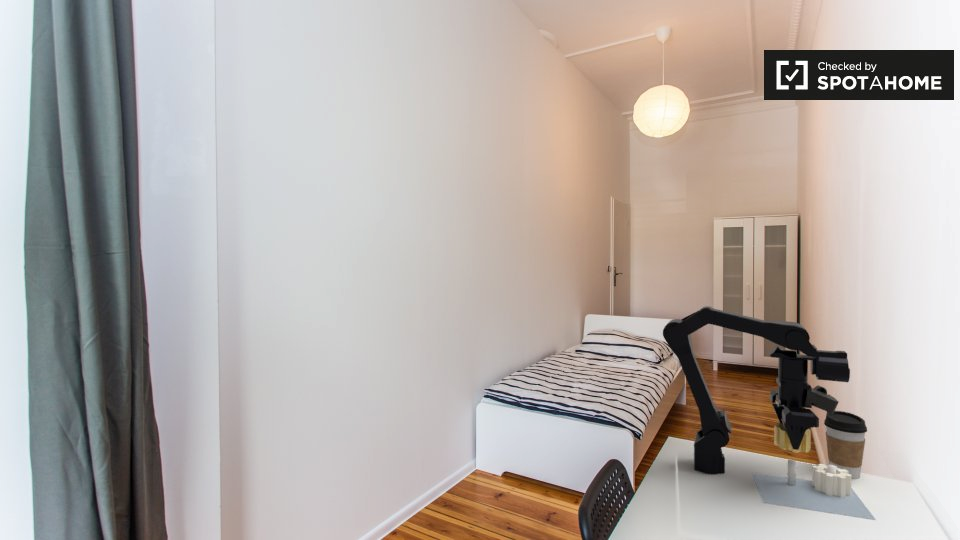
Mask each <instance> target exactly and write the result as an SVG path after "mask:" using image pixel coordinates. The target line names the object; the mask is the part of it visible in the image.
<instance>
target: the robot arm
mask: <svg viewBox="0 0 960 540" xmlns="http://www.w3.org/2000/svg"><path fill="white" fill-rule="evenodd" d="M707 325H712V326H717V327H721V328H725V329H728V330H733V331H736V332H741V333H745V334H749V335H753V336H756V337H757V336H758V337H760V338H763V339H765V340H768V341H770V342H772V343H774V344H776V346H775V348H773V349H772V350H770V351H769V352H768V354H769V356H770V357H771V358H778V376H777V377H776V378H775V379H776V384H777V386H778V387H777V389H776V388H775V389H772V390H771V391H769V401H770V403H771V406H772V408H773V411H774V413H775V416H776V418H777V420H778V423H781V424H783V425H784V427H785V430H786V432H787V435H788V438H789V440H790V443H791V445H792V448H793V449H795V450H798V449H799V447H800V445H801V442H802V439H803V436H804V434H805V431H806V430H807V429H810V428H820V418H819V417H818V416H817V415H816V413H815V412H814V411H813V410H812V409H813V407H815V408H817V409H820V410H822V411H824V412H825V413H826V414H827V413H830V414H833V413H834V411H836V410H837V406H838V404H839V401H838V399H836V398H835V397H834V396H832V395H831V394H828V391H827V388H825V387H823V386H821V385H816V386H814V387H812V386H811V385H810V383H808V378H809V377H808V376H809V375H808V374H809V373H808V370H810V371H809V372H810V375H812V376H815V378H816V380H819V381H830V382H837V383H838V382H839V383H849V381H850V377H851V369H850V367H849V360H848V353H847V352H846V351H845V350H819V349H818V348H817V347H816V346H815V344H812V343H811V342H810V334H809V332H808V330H806V328H805V327H804V326H803V325H802V324H800V323H798V322H796V321H787V320H785V321H784V320H768V319H767V320H765V319H759V318H756V317H751V316H747V315H742V314H737V313H734V312H730V311H726V310H721V309H718V308H714V307H712V306H707V305H706V306H702V308H700V309H698V310H697V311H695V312H692V313H691V314H689V315H687V316H684V317H683V318H681V319H680V318H676V319H675V318H674V319H671V320H669V321H668V322H667V324H666V325H665V326H664V328H663V329H662V336H663V339H664V341H665V342H666V343H667V346H668V347H669V348H670V350H671V351H672V352H673V353H674V355H675V356H676V357H677V359H678V361H679V364H680V366H681V370H682V371H683V374H684V377H685V379H686V381H687V385H688V388H689V389H690V391H691V394H692V396H693V397H692V398H693V399H694V401H695V405H696V406H697V408H698V413H699V418H700V419H699V420H700V426H701V429H699V430H698V431H697V432H696V433H695V437H694V443H693V469H694V471H698V472H699V473H702V474H705V475H713V476H714V475H718V474H719V475H724V474H725V472H726V470H725V469H726V463H725V462H726V458H725V457H726V456H725V454H724V453H723V449H722V448H725V447H726V446H727V445H728V444H729V442H730V435H731V434H732V423H731V422H730V420H729V418H728V417H727V412H726V409H721V410H720V409H719V408H718V407H717V405H716V404H715V402H714V400H713V397H712V394H711V392H710V389H709V387H708V385H707V382H706V380H705V378H704V376H703V373H702V372H703V371H702V369H701V368H700V366H699V362H698V361H697V357H696V355H695V353H694V348H693V340H692V334H693V333H695V332H697V331H699V330H700V329H702V328H703V327H705V326H707ZM780 346H781V347H783V348H785V349H781V347H780ZM797 351H798V352H799V351H800V352H801V353H802V354H800V353H797ZM809 361H810V362H809ZM808 362H809V363H808ZM809 365H810V366H809ZM808 367H810V369H809V368H808Z"/></svg>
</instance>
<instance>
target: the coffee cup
mask: <svg viewBox="0 0 960 540" xmlns="http://www.w3.org/2000/svg"><path fill="white" fill-rule="evenodd" d="M823 425H824V426H825V429H826V431H825V437H826V438H825V440H826V449H827V458H828V459H827V460H828V465H829V464H830V465H834V466H837V468H840V469H845V470H847V471H849V474H850V475H851V480H859V479H860V478H861V473H862V465H863V459H864V452H865V445H866V438H865V436H866V435H865V434H866V433H867V432H868V427H867V426H866V425H867V424H866V421H865V419H864V418H862V417H860V416H858V415H856V414H854V413H852V412H846V411H840V410H835V411H834V413H833V414H830V413H827V412H826V415H825V419H824V422H823Z"/></svg>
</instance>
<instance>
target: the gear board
mask: <svg viewBox="0 0 960 540" xmlns="http://www.w3.org/2000/svg"><path fill="white" fill-rule="evenodd" d="M827 472H828V473H832V474H836V466H834V465H830V464H829V463H828V464H827ZM751 475H752V477H753V479H754V482H755V485H756V487H757V490H758V492H759V495H760V498H761V500H762V503H763V504H768V505H769V504H770V505H776V506H781V507H789V508H795V509H802V510H807V511H813V512H820V513H827V514H833V515H840V516H847V517H852V518H853V517H854V518H858V519H860V518H861V519H865V520H872V521H876V518H875V516H874V515H873V514H872V513H871V511H870V510H869V509H868V507H867V506H866V505H865V504H864V502H863V501H862V500H861V498H860V497H859V495H858V494H856V492H855V490H853V488H852V487H851V495H850V496H849V495H846V497H845V498H841V497H839V496H835V495H832V496H829V495H826V493H824V492H822V491H817V490H816V489H815V486H813V480H810V479H803V478H802V479H801V478H797V461H796V460H794V459H787V477H786V476H780V475H772V474H765V473H758V472H751Z"/></svg>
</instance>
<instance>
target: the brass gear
mask: <svg viewBox="0 0 960 540" xmlns="http://www.w3.org/2000/svg"><path fill="white" fill-rule="evenodd" d="M811 434H812V432H811V429H810V428H809V429H807V430H806V431H805V434H804V436H803V439H802V442H801V445H800V447H799V449H798V450H795V449H793V448H792V445H791V443H790V440H789V438H788V435H787V432H786V430H785V427H784V425H783V424H781V423H780V422H778V423H776V425H774V434H773V435H774V441H773V444H774V446H777V447H779V449H780V450H783V451H789V452H793V453H797V454H799V453H801V452H803V453H806V454H807V453H810V450H811V446H812V445H811V443H812V442H811V441H812V437H811V436H812V435H811Z"/></svg>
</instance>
